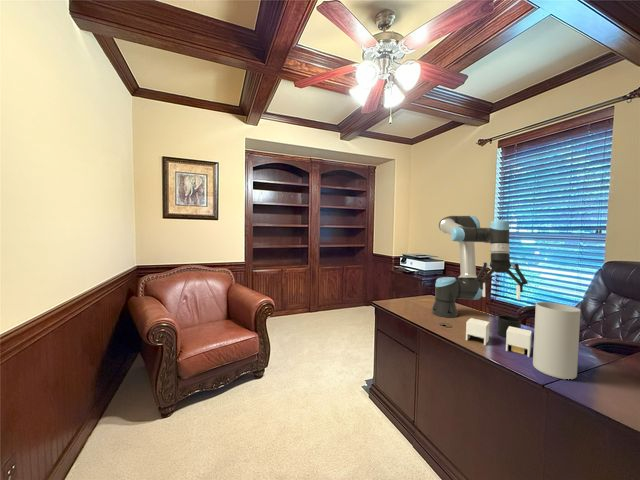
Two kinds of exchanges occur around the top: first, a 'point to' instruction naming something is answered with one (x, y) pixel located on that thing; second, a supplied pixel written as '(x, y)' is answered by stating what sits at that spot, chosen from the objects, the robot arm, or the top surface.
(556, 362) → the cylinder vase
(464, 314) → the top surface
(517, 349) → the block
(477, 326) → the cover
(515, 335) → the cover
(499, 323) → the mug
